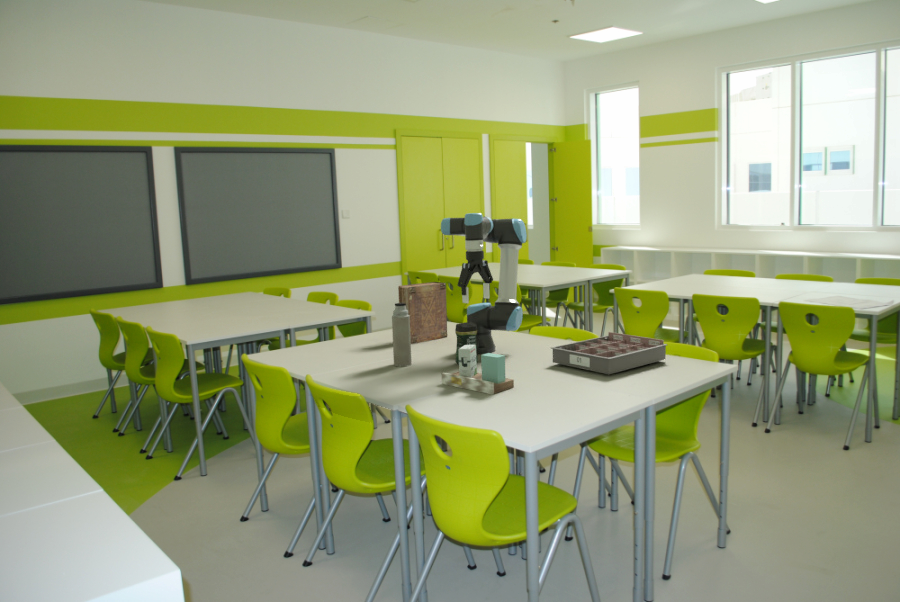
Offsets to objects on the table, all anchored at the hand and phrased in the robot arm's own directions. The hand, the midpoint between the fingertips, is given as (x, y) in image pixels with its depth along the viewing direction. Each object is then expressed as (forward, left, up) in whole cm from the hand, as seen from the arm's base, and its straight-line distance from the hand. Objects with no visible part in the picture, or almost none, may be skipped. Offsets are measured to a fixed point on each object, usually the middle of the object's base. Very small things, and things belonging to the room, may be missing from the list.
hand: (476, 300), depth 279 cm
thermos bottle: (-35, -12, -30) cm, 48 cm away
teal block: (+24, -19, -27) cm, 41 cm away
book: (-70, +36, -30) cm, 85 cm away
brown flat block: (+16, -19, -30) cm, 39 cm away
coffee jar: (-13, +7, -30) cm, 34 cm away
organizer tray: (+38, +43, -31) cm, 65 cm away
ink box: (+11, -19, -27) cm, 35 cm away
